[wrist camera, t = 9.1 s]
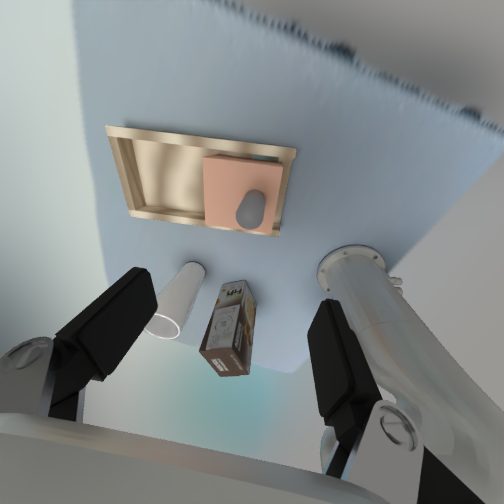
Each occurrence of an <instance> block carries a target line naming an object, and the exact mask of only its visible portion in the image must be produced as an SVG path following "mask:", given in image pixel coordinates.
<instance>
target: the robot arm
mask: <svg viewBox="0 0 504 504" xmlns="http://www.w3.org/2000/svg"><path fill="white" fill-rule="evenodd" d="M385 269H386V268H385V262H384V260H383V258H382V257H381V256H380V254H378V253H377V252H376V251H375V250H373V249H372V248H369V247H366V246H359V245H355V246H347V247H343V248H340V249H337V250H335V251H333V252H332V253H330V254H329V255H327V256H326V257H325V258H324V259H323V260H322V262H321V263H320V265H319V267H318V270H317V278H318V282H319V284H320V286H321V287H322V288H323V289H324V290H325V291H326V292H328V293H330V294H331V295H332V297H333V299H326V300H325V301H322V302H321V304H320V306H319V308H318V311H317V313H316V315H315V317H314V319H313V322H312V324H311V326H310V328H309V330H308V334H307V338H308V344H309V351H310V357H311V363H312V370H313V376H314V382H315V389H316V394H317V401H318V408H319V413H320V415H321V417H324V422H325V425H326V426H328V427H327V428H326V430H325V431H324V433H323V436H322V439H321V447H320V457H321V467H322V474H319V473H315V472H311V471H307V470H302V469H298V468H294V467H290V466H286V465H280V464H276V463H272V462H267V461H262V460H258V459H253V458H248V457H243V456H239V455H234V454H229V453H224V452H220V451H215V450H210V449H205V448H200V447H196V446H191V445H186V444H181V443H177V442H172V441H167V440H162V439H157V438H152V437H148V436H143V435H138V434H133V433H128V432H123V431H118V430H113V429H108V428H103V427H99V426H94V425H89V424H84V423H82V422H83V410H84V397H85V387H86V385H87V383H88V382H89V381H90V380H91V379H92V380H97V381H101V382H103V381H104V379H105V378H106V377H107V375H110V374H111V373H112V372H113V371H114V370H115V369H116V367H117V366H118V364H119V363H120V362H121V360H122V359H123V357H124V356H125V355H126V353H127V352H128V350H129V349H130V347H131V346H132V345H133V343H134V342H135V341H136V339H137V338H138V336H139V335H140V334H141V332H142V331H143V329H144V328H145V327H146V325H147V324H148V322H149V321H150V320H151V318H152V317H153V315H154V314H155V313H156V311H157V309H158V303H157V299H156V295H155V291H154V287H153V283H152V279H151V275H150V273H149V272H148V271H147V269H145V268H139V267H133V268H132V269H130V270H129V271H128V272H127V273H126V274H125V275H123V276H122V277H121V278H120V279H119V280H118V281H116V282H115V283H114V284H113V285H112V286H111V287H110V288H108V289H107V290H106V291H105V292H104V293H103V294H101V295H100V296H99V297H98V298H97V299H96V300H94V301H93V302H92V303H91V304H90V305H89V306H87V307H86V308H85V309H84V310H83V311H82V312H81V313H79V314H78V315H77V316H76V317H75V318H74V319H72V320H71V321H70V322H69V323H68V324H67V325H66V326H64V327H63V328H62V329H61V330H60V331H59V332H58V333H56V334H55V335H56V337H55V338H54V339H53V340H52V339H51V338H49V337H37V338H32V339H30V340H27V341H25V342H22V343H20V344H19V345H17V346H15V347H13V348H12V349H11V350H9V351H8V352H6V353H5V354H4V355H3V356H2V357H1V358H0V504H504V411H502V409H501V408H500V407H499V406H497V404H495V402H494V401H493V400H492V399H491V398H490V397H489V396H488V395H487V394H486V393H485V392H484V391H483V390H482V389H481V388H480V387H479V386H478V385H477V384H476V383H475V382H474V381H473V380H472V378H471V377H470V376H469V375H468V374H467V373H466V372H465V371H464V370H463V368H462V367H461V366H460V365H459V364H458V363H457V362H456V360H455V359H454V358H453V357H452V356H451V355H450V353H449V352H448V351H447V350H446V349H445V348H444V346H443V345H442V344H441V343H440V342H439V341H438V339H437V338H436V337H435V336H434V334H433V333H432V332H431V331H430V330H429V328H428V327H427V326H426V325H425V323H424V322H423V321H422V320H421V319H420V317H419V316H418V315H417V314H416V313H415V311H414V310H413V309H412V308H411V306H410V305H409V304H408V303H407V302H406V300H405V299H404V298H403V297H402V293H403V291H402V289H401V288H400V287H394V286H393V285H392V284H394V285H401V284H402V279H401V278H396V277H390V276H389V275H388V274H387V273H386V272H385ZM377 384H378V385H379V386H380V387H382V388H383V389H385V390H386V391H388V392H389V393H391V394H392V395H393V396H394V397H395V398H396V401H397V402H396V404H394V403H392V402H390V401H387V400H383V399H382V397H381V394H380V392H379V389H378V387H377Z"/></svg>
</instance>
